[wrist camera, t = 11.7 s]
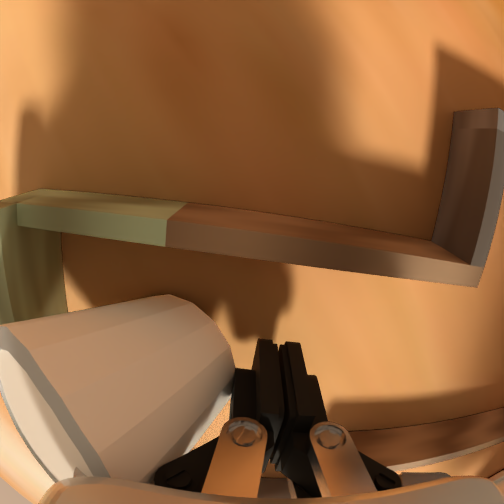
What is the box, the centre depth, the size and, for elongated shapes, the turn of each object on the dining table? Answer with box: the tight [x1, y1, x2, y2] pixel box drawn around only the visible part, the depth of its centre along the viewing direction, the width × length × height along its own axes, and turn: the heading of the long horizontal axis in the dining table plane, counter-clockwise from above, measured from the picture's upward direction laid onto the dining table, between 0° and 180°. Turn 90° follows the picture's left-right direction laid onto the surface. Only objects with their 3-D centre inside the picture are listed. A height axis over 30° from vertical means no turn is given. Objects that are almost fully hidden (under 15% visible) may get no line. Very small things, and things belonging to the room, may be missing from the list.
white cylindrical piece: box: [0, 294, 235, 484], centre depth 9 cm, size 7×7×7 cm
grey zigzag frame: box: [0, 108, 504, 499], centre depth 12 cm, size 32×24×4 cm
